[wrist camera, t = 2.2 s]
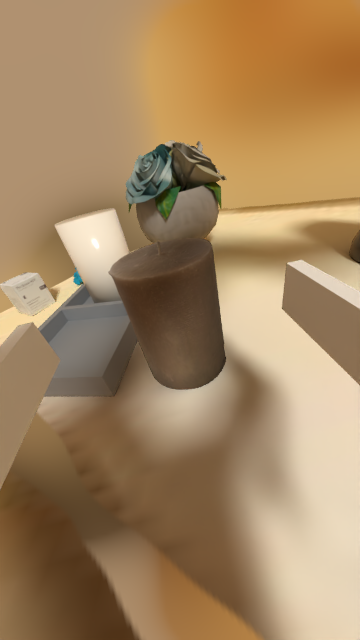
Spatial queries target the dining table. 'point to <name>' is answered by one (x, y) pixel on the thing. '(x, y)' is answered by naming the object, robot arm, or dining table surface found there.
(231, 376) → the dining table surface
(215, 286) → the pillar candle
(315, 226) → the dining table surface
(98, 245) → the white candle
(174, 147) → the flower arrangement
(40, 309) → the skincare box
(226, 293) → the dining table surface
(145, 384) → the dining table surface
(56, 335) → the tray
